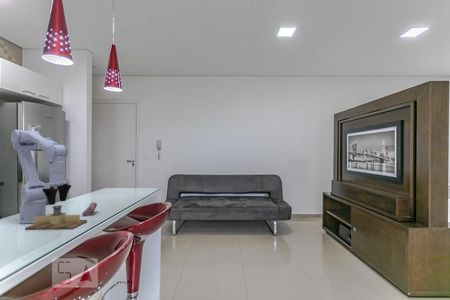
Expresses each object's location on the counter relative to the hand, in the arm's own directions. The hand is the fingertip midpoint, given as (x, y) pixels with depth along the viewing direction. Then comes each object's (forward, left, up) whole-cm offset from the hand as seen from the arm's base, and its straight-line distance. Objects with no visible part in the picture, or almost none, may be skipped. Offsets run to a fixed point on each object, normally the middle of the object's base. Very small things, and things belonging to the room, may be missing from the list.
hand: (57, 202), depth 116 cm
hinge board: (0, -1, -10) cm, 10 cm away
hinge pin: (+1, -1, -9) cm, 9 cm away
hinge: (0, -1, -10) cm, 10 cm away
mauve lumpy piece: (+4, +20, -10) cm, 23 cm away
